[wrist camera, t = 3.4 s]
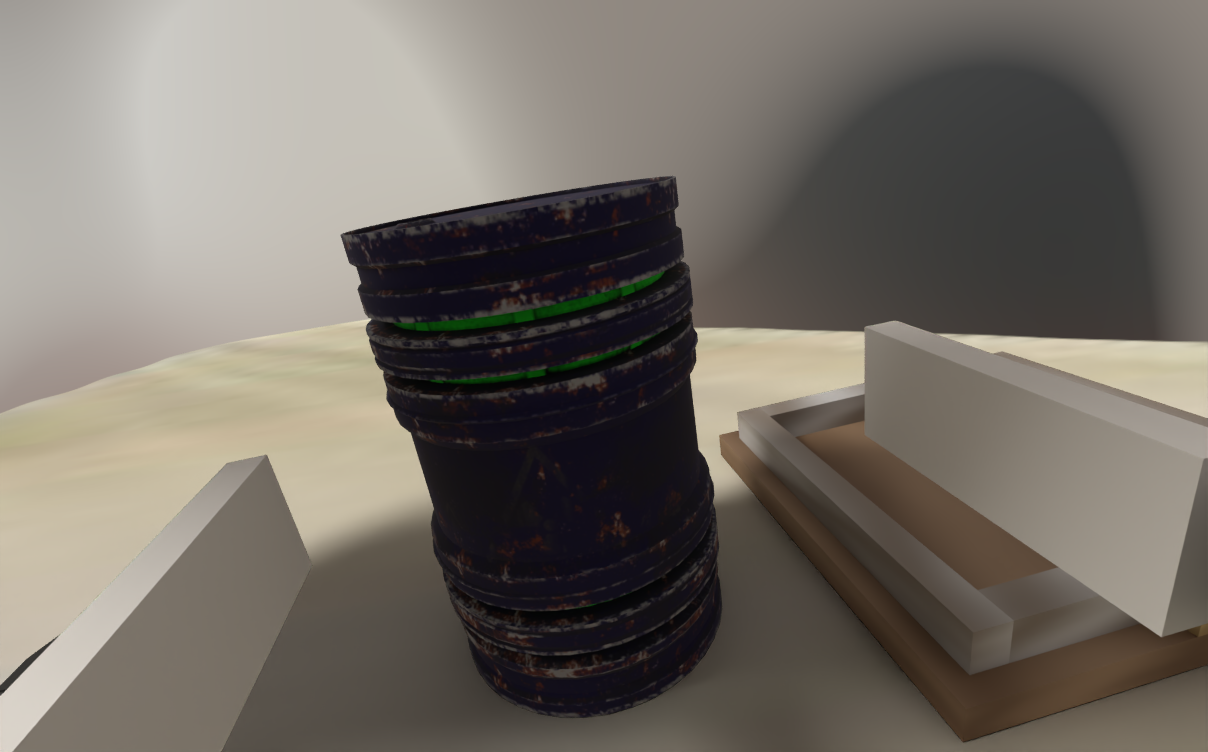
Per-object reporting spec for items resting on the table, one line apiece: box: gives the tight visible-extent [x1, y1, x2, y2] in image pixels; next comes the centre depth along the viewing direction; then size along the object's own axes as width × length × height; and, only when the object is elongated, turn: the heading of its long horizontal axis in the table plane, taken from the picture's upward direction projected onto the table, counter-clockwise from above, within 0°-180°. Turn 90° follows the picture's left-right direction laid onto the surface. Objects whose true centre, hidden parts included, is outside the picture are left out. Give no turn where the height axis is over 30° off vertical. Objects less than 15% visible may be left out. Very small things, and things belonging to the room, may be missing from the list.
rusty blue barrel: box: [341, 176, 722, 717], centre depth 19 cm, size 10×10×15 cm
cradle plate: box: [719, 352, 1208, 742], centre depth 23 cm, size 17×17×3 cm
